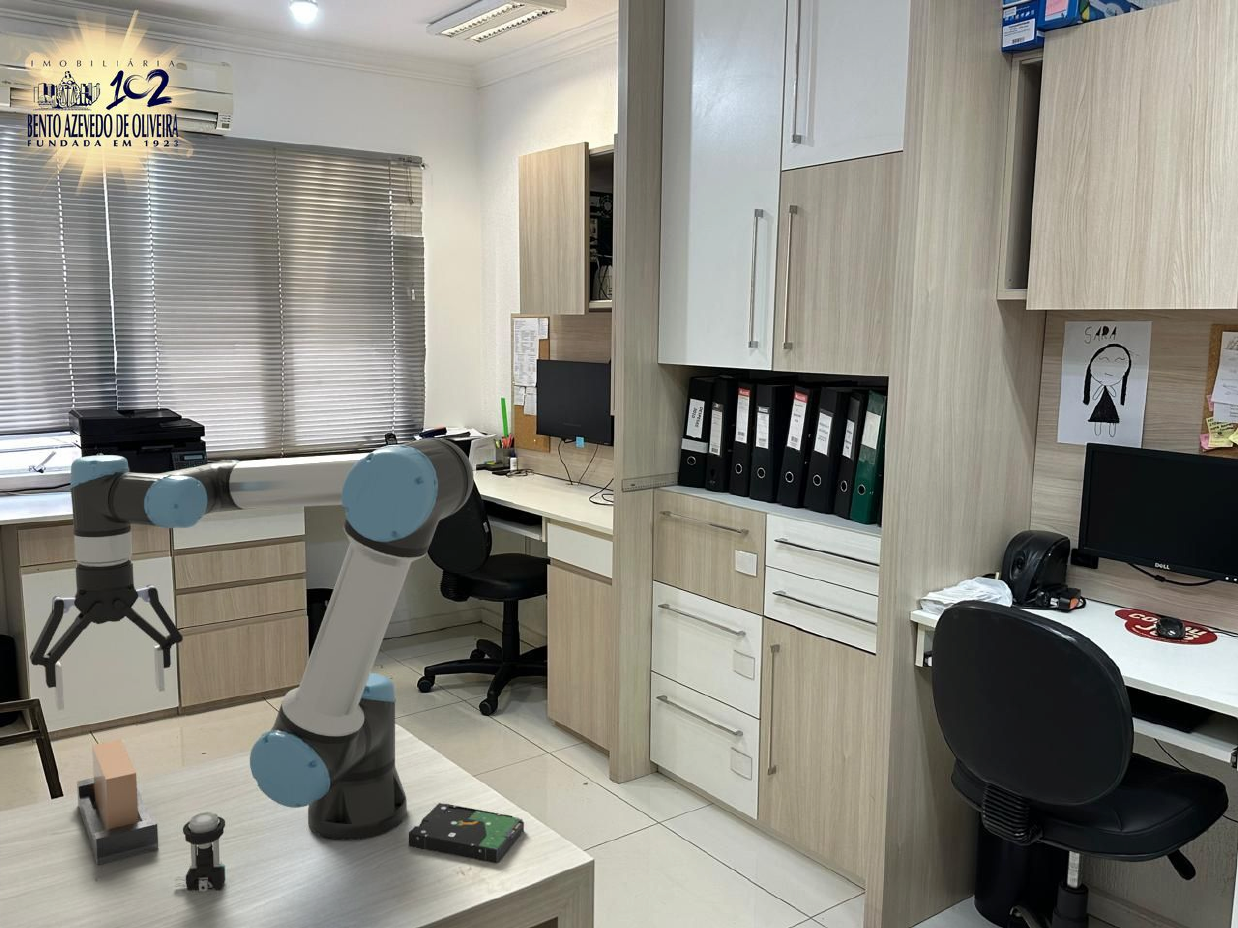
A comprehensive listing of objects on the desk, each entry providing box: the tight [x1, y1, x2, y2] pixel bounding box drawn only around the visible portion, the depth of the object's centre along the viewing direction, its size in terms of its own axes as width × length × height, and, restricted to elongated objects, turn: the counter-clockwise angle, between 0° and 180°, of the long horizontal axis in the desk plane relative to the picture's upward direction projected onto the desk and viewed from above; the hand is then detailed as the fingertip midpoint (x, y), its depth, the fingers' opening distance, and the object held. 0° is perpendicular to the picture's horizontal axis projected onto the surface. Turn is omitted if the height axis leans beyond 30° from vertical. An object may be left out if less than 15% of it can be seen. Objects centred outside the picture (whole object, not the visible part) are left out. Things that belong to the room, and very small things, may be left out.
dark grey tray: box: [76, 777, 159, 866], centre depth 150 cm, size 21×8×4 cm, turn 35°
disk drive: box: [408, 802, 525, 865], centre depth 149 cm, size 10×3×15 cm
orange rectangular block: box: [91, 738, 138, 831], centre depth 149 cm, size 14×4×10 cm, turn 35°
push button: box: [174, 811, 227, 893], centre depth 134 cm, size 7×5×10 cm
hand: (111, 697), depth 147 cm, fingers open, 13 cm apart
